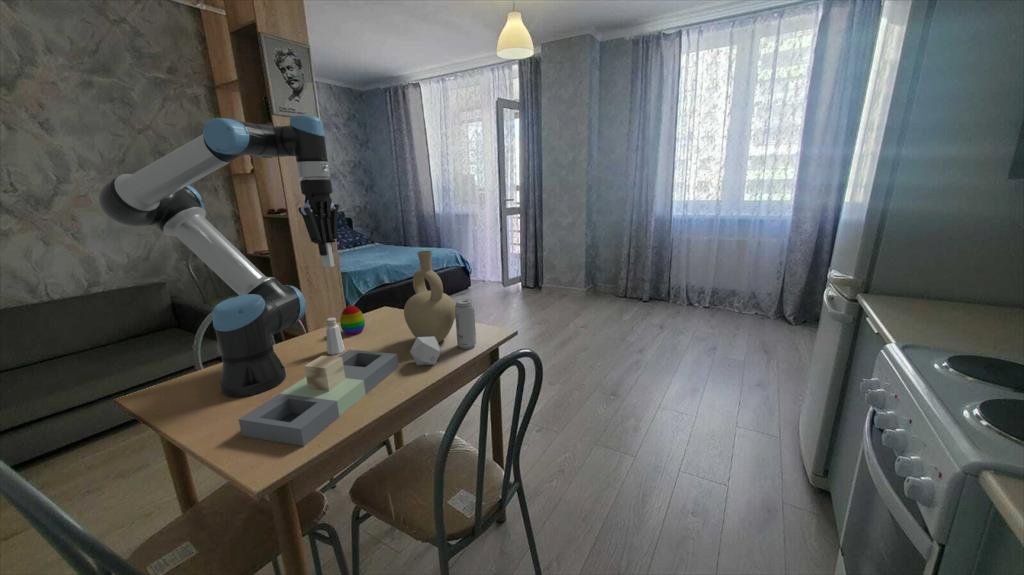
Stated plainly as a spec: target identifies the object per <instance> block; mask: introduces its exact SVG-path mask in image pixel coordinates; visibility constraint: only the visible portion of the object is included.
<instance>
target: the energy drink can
mask: <svg viewBox="0 0 1024 575" xmlns="http://www.w3.org/2000/svg"><path fill="white" fill-rule="evenodd" d="M475 314H476V313H475V305H474V304H473V301H472V299H469V298H462V299H459V300H456V302H455V328H456V343H457V346H458V347H459V348H460V349H463V350H470V349H473V348H475V346H476V344H477V336H476V335H477V333H476V315H475Z"/></svg>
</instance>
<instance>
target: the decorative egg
mask: <svg viewBox="0 0 1024 575" xmlns="http://www.w3.org/2000/svg"><path fill="white" fill-rule="evenodd" d="M339 320H340V321H339V324H340V327H341V330H342V332H344V334H346V335H347V336H352V335H358V334H361V333H362V332H363V331H364V329H365V326H366V320H365V316H364V314H363V312H362V311H361V310H360V308H358V307H357V306H355V305H352V304H351V305H347V306H346V307H345V308H344V309H343V311H342V312H341V315H340V319H339Z"/></svg>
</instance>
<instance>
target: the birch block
mask: <svg viewBox="0 0 1024 575" xmlns="http://www.w3.org/2000/svg"><path fill="white" fill-rule="evenodd" d="M304 371H305V377H306V378H307V384H308V389H314V390H322V391H331V390H332V389H333V388H335V387H336V386H337V385H339V384H340V383H342V382H343V381H344V380H346V379H345V372H344V365H343V359H342V357H338V356H330V355H329V356H328V355H320V356H319V357H317V358H315V359H313V360H312V361H310V362H309V363H307V364H305V365H304Z"/></svg>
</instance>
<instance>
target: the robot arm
mask: <svg viewBox="0 0 1024 575" xmlns="http://www.w3.org/2000/svg"><path fill="white" fill-rule="evenodd" d="M202 133H203V134H201V135H199V136H197V137H196V138H193V139H192V140H190V141H189V142H187V143H185V144H183V145H182V146H179V147H177V148H176V149H174V150H173V151H171V152H169V153H167V154H165V155H163V156H162V157H161V158H159V159H156V160H155V161H153V162H151V163H150V164H148V165H146V166H144V167H142V168H141V169H139V170H137V171H136V172H134V173H122V174H120V175H118V176H117V177H115V178H113V179H111V180H110V181H108V182H107V183H105V185H103V187H102V188H101V189H100V192H99V195H98V202H99V203H98V204H99V205H100V208H101V210H102V211H103V212H104V213H105V215H107V216H108V217H109V218H110V219H111V220H113V221H114V222H117V223H119V224H121V225H124V226H130V227H143V226H156V227H157V228H158V229H159V230H160V231H161V232H162V233H163V234H165V235H166V236H169V237H177V238H178V240H180V241H181V243H183V244H184V245H185V246H186V247H187V248H188V249H189V250H190V251H191V252H192V253H193V254H195V255H196V256H197V257H198V259H200V260H201V261H202V262H203V263H204V264H205V265H206V267H207V266H208V268H209V269H210V270H211V271H212V272H214V274H216V275H217V276H218V277H219V278H220V279H221V280H222V281H223V282H224V283H225V284H226V285H227V286H229V287H230V288H231V289H232V290H233V291H234V292H235V293H236V294H237V295H238V296H235V297H230V298H226V299H225V300H222V301H220V302H219V303H218V304H216V305H215V306H214V307H213V309H212V311H211V312H212V313H211V316H212V325H213V329H214V332H215V337H216V341H217V344H218V347H219V352H220V356H221V360H222V367H221V376H220V380H219V388H220V392H221V394H222V395H224V396H226V397H233V398H234V397H235V398H236V397H237V398H238V397H248V396H251V395H252V396H253V395H257V394H259V393H262V392H266V391H268V390H271V389H272V388H275V387H277V386H278V385H280V384H281V383H282V382H284V380H285V379H286V377H287V373H286V368H285V366H284V364H283V363H282V361H281V360H280V358H279V357H278V356H277V354H276V352H275V349H274V345H273V339H272V336H274V335H276V334H278V333H279V332H282V331H283V330H286V329H287V328H289V327H292V326H294V325H295V324H296V323H297V322H299V321H301V319H302V318H303V317H304V315H305V313H306V309H307V306H306V303H307V302H306V299H305V297H304V295H303V292H301V290H299V289H298V287H296V286H293V285H288V284H285V285H283V284H282V283H281V282H280V281H279V280H278V279H277V278H275V277H272V276H266V275H265V274H264V273H262V271H260V269H258V267H257V266H255V264H253V263H252V262H251V261H250V260H249V259H248V258H247V257H246V256H245V255H244V254H243V253H242V252H241V251H240V250H239V249H237V247H235V245H233V243H232V242H230V241H229V240H228V239H227V238H226V237H225V235H223V234H222V233H221V232H220V231H219V230H218V229H217V228H216V227H215V226H214V225H213V224H212V223H211V222H210V221H209V220H208V219H206V215H207V211H206V210H205V206H204V202H202V200H203V199H202V196H201V195H200V193H199V191H197V190H196V188H194V187H193V186H191V185H192V184H193V183H195V182H197V181H199V180H201V179H202V178H204V177H206V176H208V175H209V174H212V173H213V172H215V171H217V170H219V169H220V168H223V167H224V166H226V165H228V164H229V163H232V162H234V161H236V160H237V159H239V158H241V157H244V156H254V157H257V158H263V159H271V158H283V157H295V159H296V160H295V161H296V168H297V172H298V174H297V175H298V178H299V179H301V180H300V181H299V185H300V191H301V194H302V195H304V197H305V198H304V205H303V206H302V207H301V206H299V207H298V209H297V210H298V212H299V213H300V215H301V216H302V219H303V221H304V224H305V227H306V231H307V234H308V236H309V238H310V242H311V243H314V244H315V245H318V246H317V247H318V251H319V252H318V253H319V255H320V259H321V266H322V267H323V268H332V267H335V261H334V247H333V243H336V240H337V238H338V211H339V209H340V206H339V204H338V203H334V202H333V201H332V200H333V199H332V198H331V194H332V193H333V187H332V180H330V179H329V178H330V177H331V174H330V166H329V160H328V153H327V144H326V134H325V130H324V126H323V122H322V119H321V118H319V117H318V116H315V115H308V114H306V115H305V114H297V115H291V116H290V117H289V125H279V126H278V125H277V126H276V125H273V126H272V125H266V124H259V123H254V122H247V121H242V120H237V119H234V118H229V117H228V118H225V117H223V118H222V117H214V118H211V119H209V120H207V122H205V126H204V127H203V130H202Z"/></svg>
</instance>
